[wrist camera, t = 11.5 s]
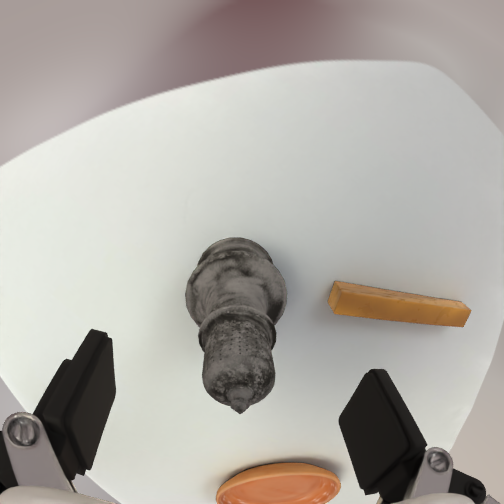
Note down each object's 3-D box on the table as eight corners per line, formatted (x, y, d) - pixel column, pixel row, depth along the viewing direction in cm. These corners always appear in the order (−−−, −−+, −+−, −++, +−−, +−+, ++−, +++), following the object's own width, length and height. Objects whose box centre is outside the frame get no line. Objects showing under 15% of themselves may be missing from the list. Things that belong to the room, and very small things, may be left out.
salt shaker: (184, 240, 20) (130, 357, 8) (273, 226, 20) (324, 333, 8) (201, 316, 22) (182, 458, 10) (282, 305, 22) (322, 443, 10)
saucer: (198, 493, 32) (198, 510, 29) (250, 444, 27) (252, 466, 25) (294, 506, 35) (296, 520, 32) (360, 459, 31) (366, 476, 28)
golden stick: (334, 280, 21) (342, 291, 20) (461, 301, 23) (472, 310, 21) (326, 302, 22) (333, 314, 20) (453, 318, 24) (463, 327, 22)
